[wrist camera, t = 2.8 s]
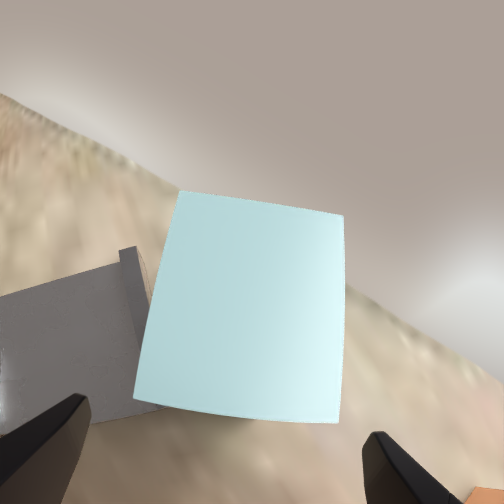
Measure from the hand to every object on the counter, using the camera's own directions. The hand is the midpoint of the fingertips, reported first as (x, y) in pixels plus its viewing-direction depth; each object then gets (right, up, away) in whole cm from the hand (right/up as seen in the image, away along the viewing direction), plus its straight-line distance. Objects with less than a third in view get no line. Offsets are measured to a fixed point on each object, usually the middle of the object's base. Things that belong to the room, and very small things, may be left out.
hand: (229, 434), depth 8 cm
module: (-1, -2, +11) cm, 11 cm away
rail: (-17, -3, +9) cm, 20 cm away
